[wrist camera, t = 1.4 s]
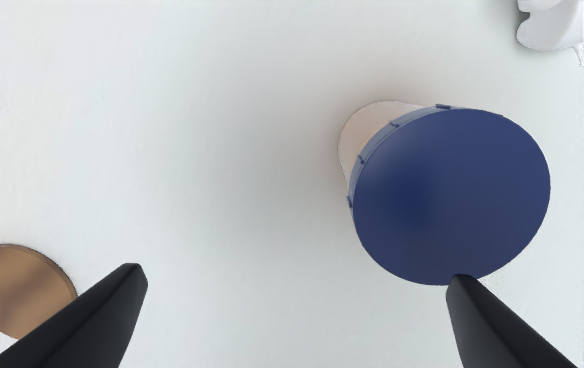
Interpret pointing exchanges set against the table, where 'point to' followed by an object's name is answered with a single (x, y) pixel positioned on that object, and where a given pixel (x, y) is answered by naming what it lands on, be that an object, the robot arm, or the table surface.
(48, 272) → the coaster
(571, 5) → the elephant figurine
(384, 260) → the jar lid
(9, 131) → the table surface
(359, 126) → the jar
